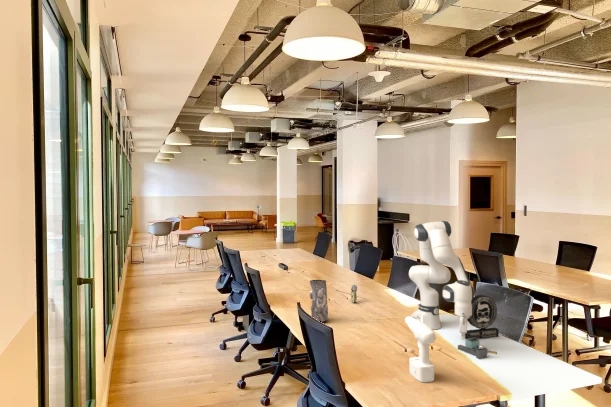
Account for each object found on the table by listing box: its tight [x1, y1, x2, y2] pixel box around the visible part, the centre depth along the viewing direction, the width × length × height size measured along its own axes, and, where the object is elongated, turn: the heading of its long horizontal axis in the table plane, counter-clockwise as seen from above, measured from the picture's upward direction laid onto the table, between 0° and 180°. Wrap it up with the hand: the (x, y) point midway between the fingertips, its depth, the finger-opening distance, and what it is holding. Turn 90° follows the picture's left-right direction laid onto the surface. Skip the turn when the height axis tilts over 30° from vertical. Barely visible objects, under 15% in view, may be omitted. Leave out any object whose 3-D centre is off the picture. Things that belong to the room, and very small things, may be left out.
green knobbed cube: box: [465, 338, 480, 349], centre depth 248 cm, size 5×5×5 cm
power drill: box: [404, 316, 437, 383], centre depth 212 cm, size 8×24×25 cm, turn 13°
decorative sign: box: [464, 294, 500, 340], centre depth 265 cm, size 22×3×25 cm, turn 105°
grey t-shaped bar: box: [457, 344, 488, 360], centre depth 239 cm, size 16×6×6 cm, turn 29°
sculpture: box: [309, 279, 329, 323], centre depth 301 cm, size 12×12×28 cm
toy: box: [335, 284, 366, 303], centre depth 353 cm, size 10×26×15 cm, turn 105°
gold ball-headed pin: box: [487, 349, 498, 355], centre depth 240 cm, size 7×2×1 cm, turn 54°
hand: (463, 336), depth 244 cm, fingers open, 6 cm apart
